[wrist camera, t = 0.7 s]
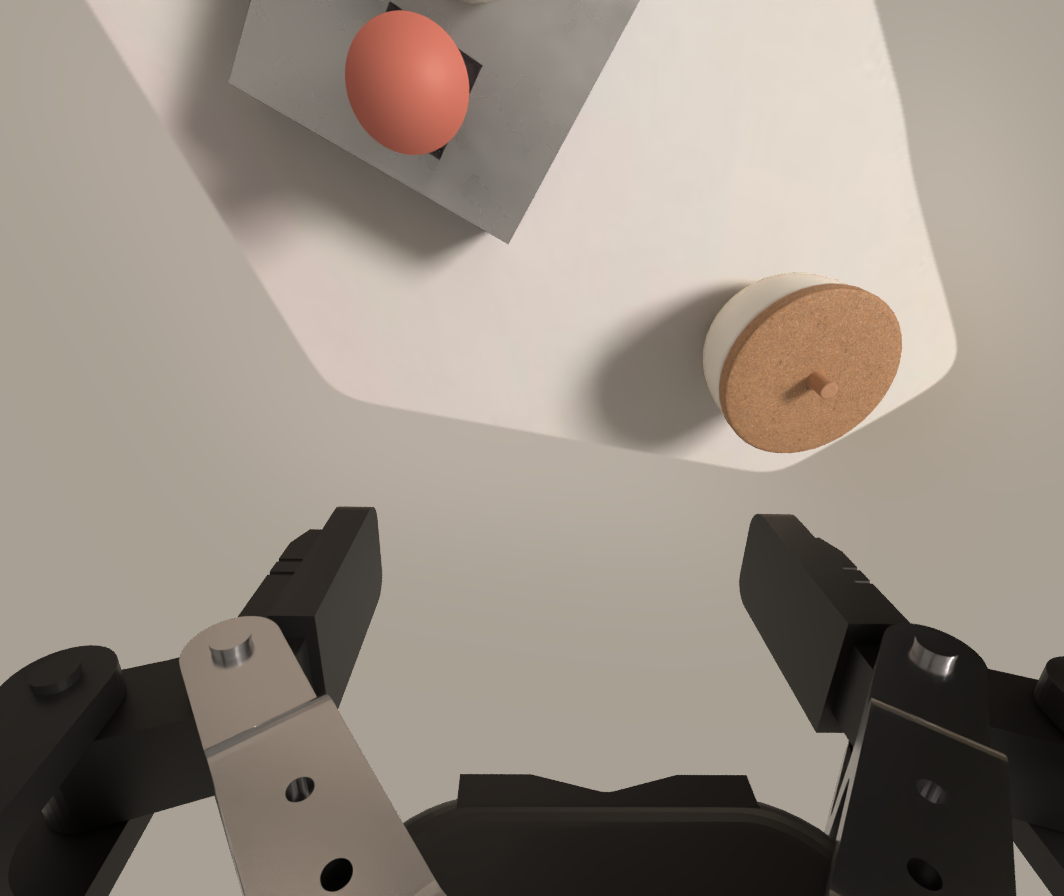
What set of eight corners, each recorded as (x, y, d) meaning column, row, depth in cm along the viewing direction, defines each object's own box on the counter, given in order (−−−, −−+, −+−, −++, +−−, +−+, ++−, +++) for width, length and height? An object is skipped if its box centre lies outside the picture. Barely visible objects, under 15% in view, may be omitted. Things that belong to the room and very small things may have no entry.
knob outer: (350, 106, 26) (326, 112, 21) (389, 0, 24) (373, -22, 19) (439, 160, 27) (437, 178, 22) (482, 65, 25) (490, 61, 20)
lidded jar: (762, 217, 36) (850, 256, 28) (859, 310, 40) (959, 365, 32) (649, 350, 40) (698, 417, 32) (748, 421, 44) (812, 495, 36)
